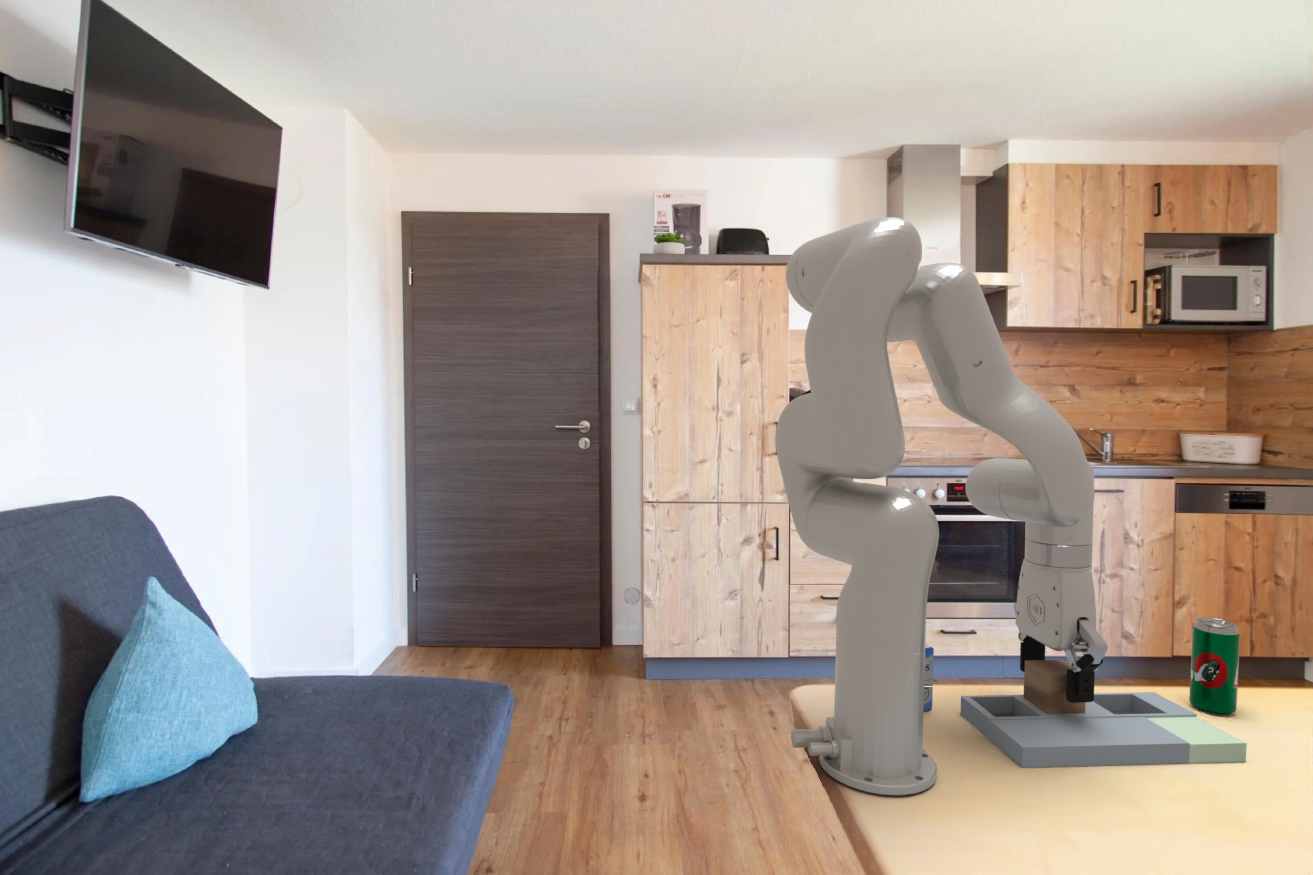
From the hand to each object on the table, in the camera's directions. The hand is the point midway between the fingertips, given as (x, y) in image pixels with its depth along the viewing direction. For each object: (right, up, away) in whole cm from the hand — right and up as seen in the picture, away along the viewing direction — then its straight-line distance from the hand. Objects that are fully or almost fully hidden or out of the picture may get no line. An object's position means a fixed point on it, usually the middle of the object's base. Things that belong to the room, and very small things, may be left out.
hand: (1054, 685), depth 93 cm
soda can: (+24, -5, +5) cm, 25 cm away
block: (-1, -2, -1) cm, 2 cm away
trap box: (+3, -5, -4) cm, 7 cm away
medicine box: (-19, -5, +4) cm, 20 cm away
